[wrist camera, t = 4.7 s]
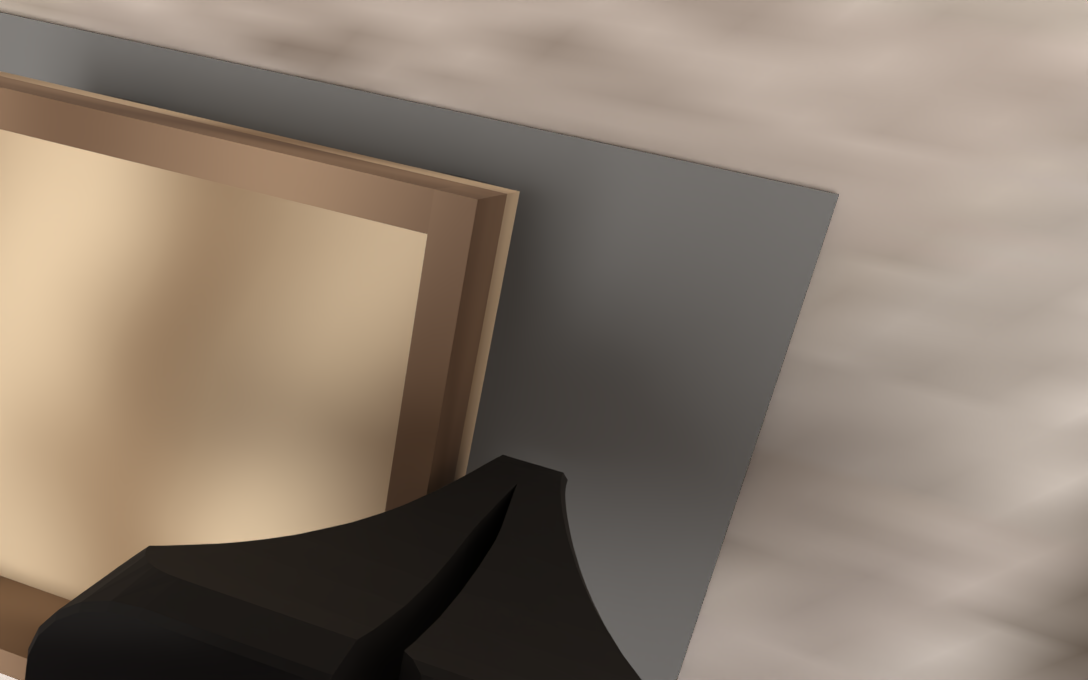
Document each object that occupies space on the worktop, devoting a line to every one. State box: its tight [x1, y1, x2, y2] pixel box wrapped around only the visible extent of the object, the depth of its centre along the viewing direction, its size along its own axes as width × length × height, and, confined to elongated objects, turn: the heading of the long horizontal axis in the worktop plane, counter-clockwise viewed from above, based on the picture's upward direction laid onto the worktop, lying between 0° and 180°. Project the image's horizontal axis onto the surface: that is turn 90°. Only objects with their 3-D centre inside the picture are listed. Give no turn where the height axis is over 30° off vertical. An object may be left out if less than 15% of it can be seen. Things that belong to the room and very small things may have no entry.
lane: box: [0, 12, 839, 680], centre depth 16 cm, size 22×13×1 cm, turn 78°
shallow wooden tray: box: [0, 71, 520, 680], centre depth 13 cm, size 11×11×5 cm
